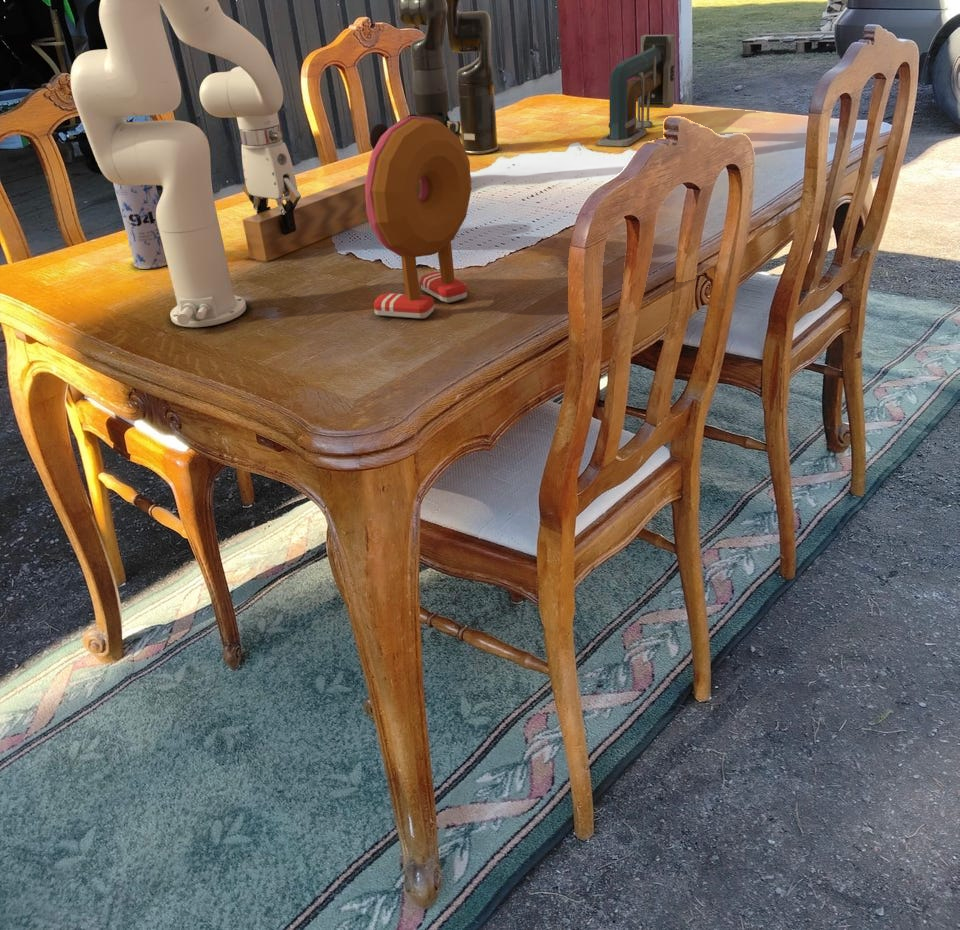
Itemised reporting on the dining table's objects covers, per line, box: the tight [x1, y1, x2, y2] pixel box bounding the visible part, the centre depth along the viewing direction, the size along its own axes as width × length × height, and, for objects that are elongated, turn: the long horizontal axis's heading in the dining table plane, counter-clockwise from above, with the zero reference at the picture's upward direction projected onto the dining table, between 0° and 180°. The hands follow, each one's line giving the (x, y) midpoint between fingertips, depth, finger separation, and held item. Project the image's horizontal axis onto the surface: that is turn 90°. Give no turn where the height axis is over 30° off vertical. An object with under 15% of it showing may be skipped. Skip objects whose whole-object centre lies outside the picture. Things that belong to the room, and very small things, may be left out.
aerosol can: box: [112, 182, 168, 270], centre depth 186 cm, size 8×8×20 cm
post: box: [242, 174, 422, 263], centre depth 207 cm, size 63×5×8 cm, turn 143°
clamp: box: [596, 34, 676, 147], centre depth 254 cm, size 35×9×21 cm, turn 151°
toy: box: [365, 113, 473, 319], centre depth 153 cm, size 21×10×30 cm, turn 141°
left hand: (278, 229), depth 190 cm, fingers open, 5 cm apart
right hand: (437, 166), depth 223 cm, fingers open, 5 cm apart
